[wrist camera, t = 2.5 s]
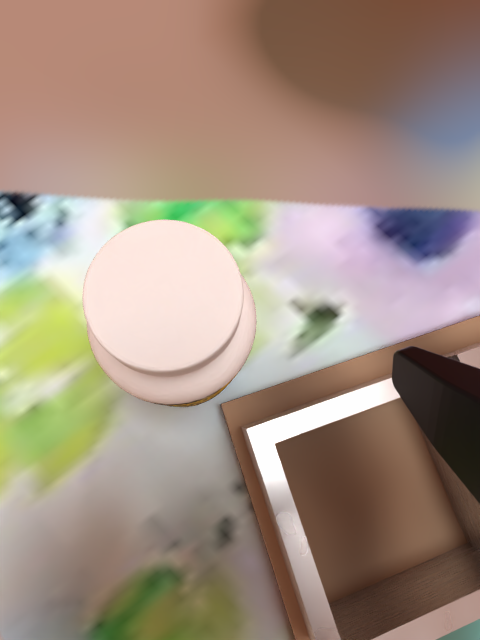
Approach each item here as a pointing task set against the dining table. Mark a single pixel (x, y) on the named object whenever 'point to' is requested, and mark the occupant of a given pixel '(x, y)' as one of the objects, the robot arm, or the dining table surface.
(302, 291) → the dining table surface
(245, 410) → the socket board
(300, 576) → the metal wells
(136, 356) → the supplement bottle
